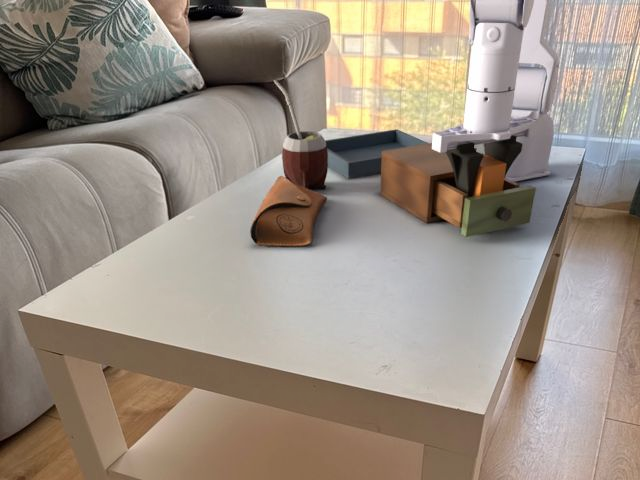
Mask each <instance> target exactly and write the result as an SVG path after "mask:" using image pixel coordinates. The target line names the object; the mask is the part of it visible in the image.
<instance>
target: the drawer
mask: <svg viewBox="0 0 640 480" xmlns="http://www.w3.org/2000/svg"><path fill="white" fill-rule="evenodd" d="M536 190H537V188H536V186H533V185H530V184H529V185H525V186H521V184H520V183H518V182H517V181H516V182H514V181H511V180H509V179H507V178H504V183H503V190H502V191H499V192H494V193H489V194H484V195H479V196H474V197H469V198H468V194H466V193H464V192H462V191H460V190H458V189H457V186H456V181H455V177H450V178H444V179H439V180H434V188H433V200H432V212H433V213H434V214H436V215H438V216H439V217H441V218H443V219H444V220H445V221H446V222H448V223H449V224H451V225H453V226H455V227H456V228H458V229H461V231H460V235H462V236H463V237H465V238H469V237H473V236H477V235H482V234H487V233H492V232H495V231H500V230H504V229H505V230H506V229H509V228H514V227H517V226H522V225H523V226H524V225H528V224H530V223H531V217H532V211H533V208H534V207H533V206H534V201H535V196H536Z"/></svg>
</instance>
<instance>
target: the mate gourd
mask: <svg viewBox="0 0 640 480" xmlns="http://www.w3.org/2000/svg"><path fill="white" fill-rule="evenodd" d="M273 82H274V84H275V85H276V87H278V89H279V90H280V91H281V92H282V94H283V95H284V97H285V101H286V105H287V106H288V109H289V112H290V115H291V118H292V122H293V125H294V128H295V131H294V132H291V133H289V134H288V135H287V136H286V138H285V139H284V141H283V144H282V151H281V161H282V169H283V174H284V177H285V178H286V179H288V180H289V181H291V182H292V183H294V184H297V185H299V186H302V187H304V188H307V189H309V190H311V191H319V190H320V191H325V190H326V189H327V185H325V183H326V179H327V175H328V168H329V166H328V151H327V146H326V142H325V140H326V139H325V138H324V137H323V135H322V134H321V133H319V132H316V131H310V130H305V131H301V130H300V127H299V122H298V120H297V116H296V112H295V110H294V105H293V100H292V97H291V96H290V95H289V93H288V91H287V90H286V89H285V88H284V86H283V85H281V83H280V82H279V81H278V80H277V79H275V78H274V79H273Z"/></svg>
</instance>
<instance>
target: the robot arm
mask: <svg viewBox="0 0 640 480" xmlns="http://www.w3.org/2000/svg"><path fill="white" fill-rule="evenodd" d="M551 3H552V0H469V3H468V5H469V6H468V7H469V8H468V19H469V20H468V21H469V31H468V45H470V46H471V48H470V56H469V65H468V66H469V67H468V68H469V69H468V74H467V85H466V96H465V105H464V112H463V113H464V115H463V123H461V124H460V125H456V126H452V127H450V128H447V129H444V130H441V131H436V132H433V133H432V139H431V140H432V141H431V143H432V149H433V150H435V151H438V152H439V153H442V152H446V154H447V156H448V158H449V160H450V163H451V166H452V169H453V172H454V176H455V181H456V186H457V189H458V190H460V191H462V192H464V193H466V194H468V198H469V197H473V193H474V186H475V180H476V176H477V172H478V169H479V166H480V164H481V161H482V159H483V157H484V155H483V154H485V155H488V156H490V157H492V158H495V159H497V160H499V161H502V162H504V163H506V170H505V177H504V178H507V179H509V180H511V181H514V182H516V183H517V182H521V181H525V180H531V179H536V178H541V177H546V176H549V175H551V171H550V170H548V166H549V161H550V158H551V157H550V156H551V152H552V146H553V140H554V135H555V125H554V121H553V118H552V117H551V116H550V114H548V113H549V112H550V111H551V110H552V108H553V104H554V101H555V95H556V91H557V86H558V79H559V68H560V63H561V61H560V57H559V54H558V52H557V51H555V49H553V47H551V46H550V44H549V43H547V41H546V40H545V37H546V31H547V25H548V20H549V14H550V9H551ZM519 64H529V65H531V64H532V65H539V66H522V65H521V66H519ZM540 65H541V66H542V67H541V66H540ZM477 145H478V146H479V145H483V150H484V153H483V154H482V153H481V152H478V151H477V147H475V146H477Z"/></svg>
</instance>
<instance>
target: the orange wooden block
mask: <svg viewBox="0 0 640 480" xmlns="http://www.w3.org/2000/svg"><path fill="white" fill-rule="evenodd" d="M481 154H483V155H484V157H483V159H482V161H481V164H480V166H479V169H478V172H477V176H476V180H475V186H474V193H473V197H474V196H479V195H484V194H489V193H494V192H499V191H502V190H503V183H504V177H505V170H506V163H504V162H502V161H499V160H497V159H495V158H492V157H490V156H488V155H485V153H483V152H482V153H481Z"/></svg>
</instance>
